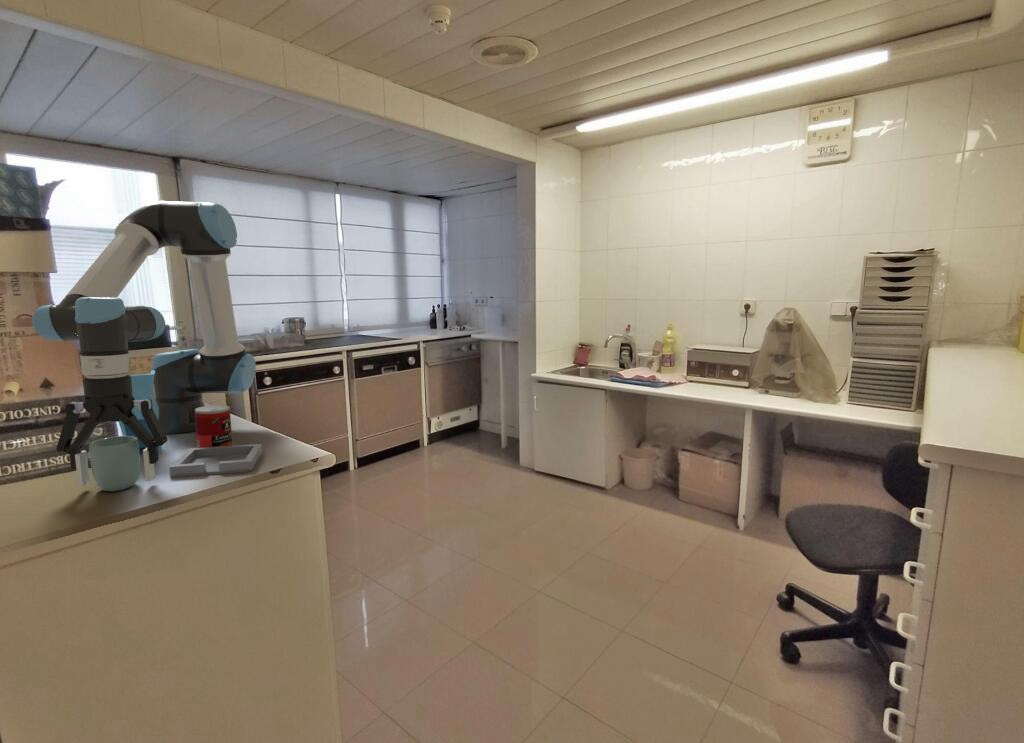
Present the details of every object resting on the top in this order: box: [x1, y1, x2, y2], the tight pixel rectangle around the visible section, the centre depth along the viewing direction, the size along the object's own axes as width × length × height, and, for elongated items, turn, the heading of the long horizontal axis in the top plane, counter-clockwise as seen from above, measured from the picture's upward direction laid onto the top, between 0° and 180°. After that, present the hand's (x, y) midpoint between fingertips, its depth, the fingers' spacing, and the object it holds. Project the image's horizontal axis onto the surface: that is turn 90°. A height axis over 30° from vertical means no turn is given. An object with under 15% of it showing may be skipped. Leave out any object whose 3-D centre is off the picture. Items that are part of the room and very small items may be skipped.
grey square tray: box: [169, 443, 263, 478], centre depth 117 cm, size 14×16×2 cm
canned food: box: [195, 404, 233, 448], centre depth 128 cm, size 8×8×11 cm
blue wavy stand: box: [118, 369, 163, 454], centre depth 125 cm, size 8×8×20 cm
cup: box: [88, 435, 141, 492], centre depth 102 cm, size 8×8×10 cm
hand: (117, 481), depth 102 cm, fingers open, 11 cm apart
